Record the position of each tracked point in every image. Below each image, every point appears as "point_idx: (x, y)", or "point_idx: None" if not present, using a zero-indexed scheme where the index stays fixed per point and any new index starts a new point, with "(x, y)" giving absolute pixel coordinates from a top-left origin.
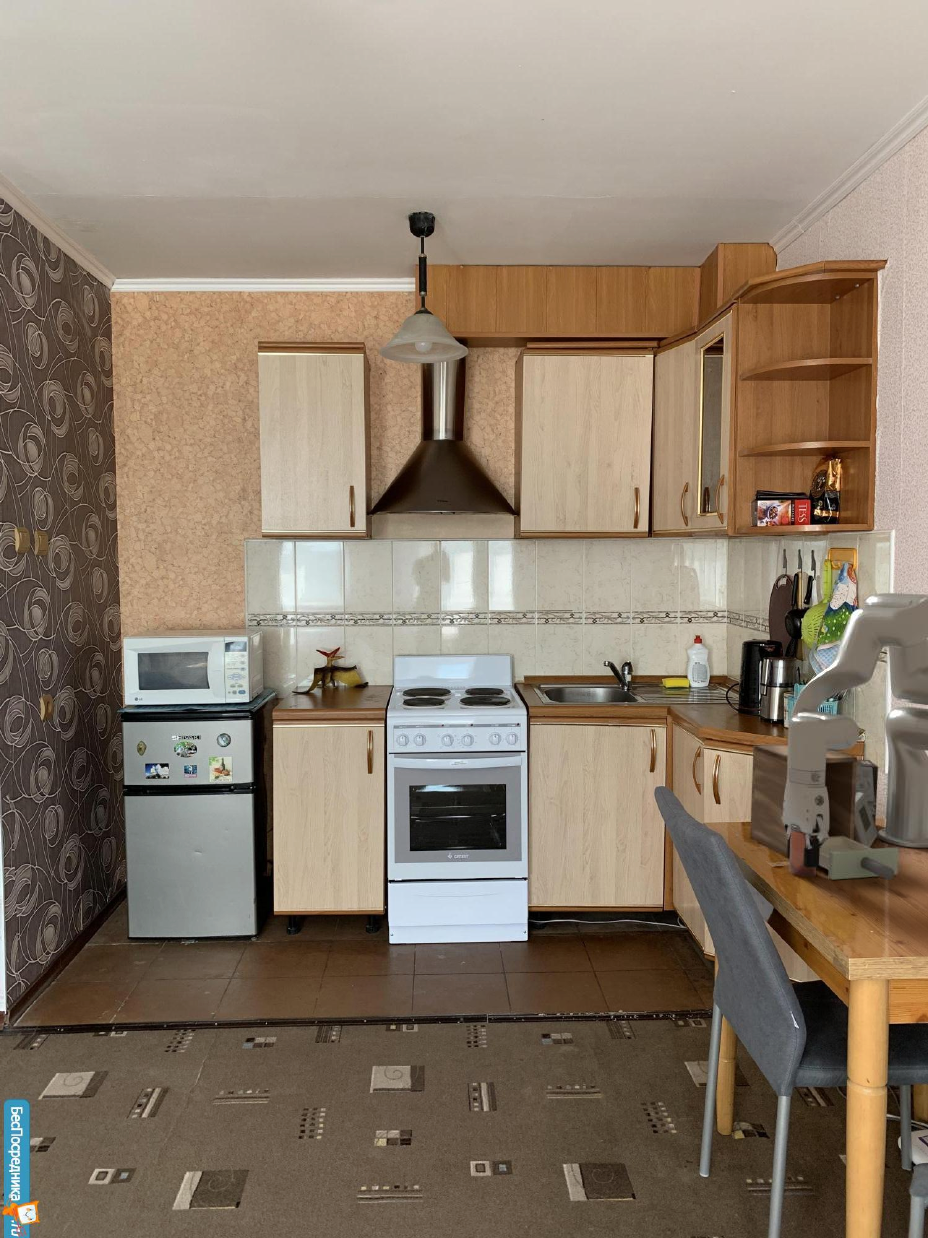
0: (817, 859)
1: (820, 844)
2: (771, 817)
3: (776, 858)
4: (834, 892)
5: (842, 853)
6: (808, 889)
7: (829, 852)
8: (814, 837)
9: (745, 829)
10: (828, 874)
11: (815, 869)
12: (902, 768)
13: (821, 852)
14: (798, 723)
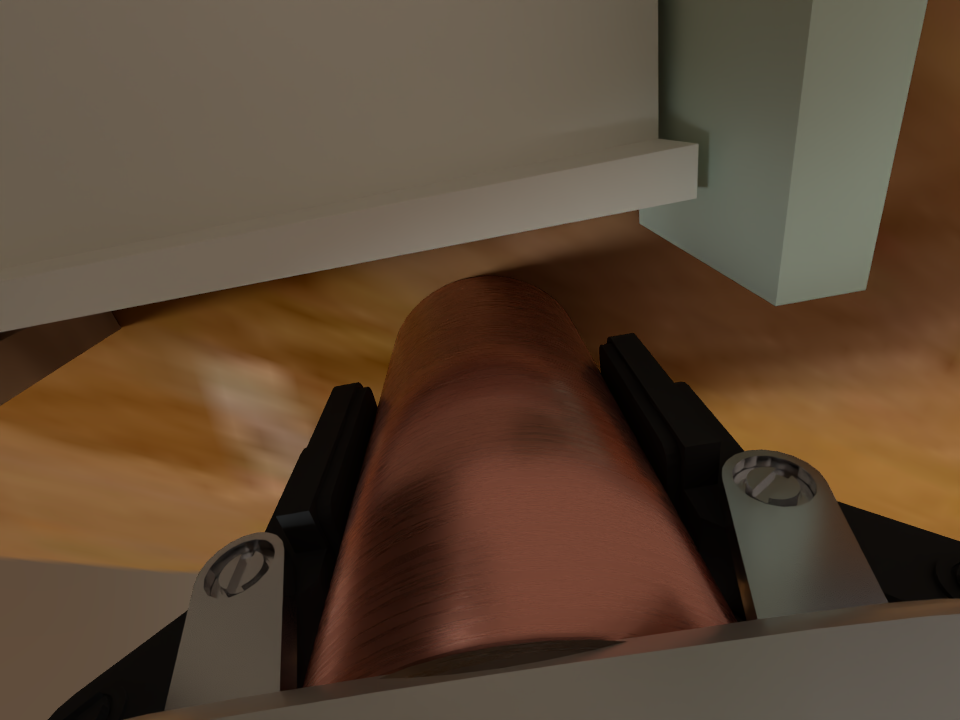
0: (696, 401)
1: (907, 550)
2: None
3: (136, 417)
4: (906, 311)
5: (900, 107)
6: (792, 444)
7: (774, 302)
8: (734, 617)
9: None
10: (649, 229)
11: (560, 315)
12: None
13: (391, 216)
14: None
